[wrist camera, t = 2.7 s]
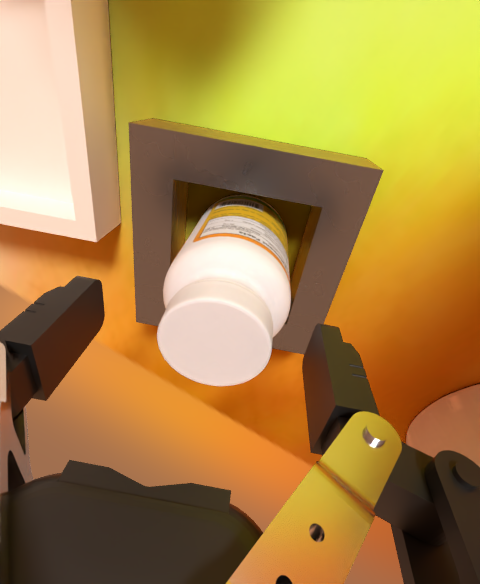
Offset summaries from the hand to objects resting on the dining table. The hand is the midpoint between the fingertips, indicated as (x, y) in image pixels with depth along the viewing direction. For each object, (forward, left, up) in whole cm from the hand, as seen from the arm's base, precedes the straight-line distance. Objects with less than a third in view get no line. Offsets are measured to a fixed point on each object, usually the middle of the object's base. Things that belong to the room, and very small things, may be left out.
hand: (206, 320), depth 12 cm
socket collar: (-1, 0, -8) cm, 8 cm away
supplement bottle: (-1, 0, -9) cm, 9 cm away
